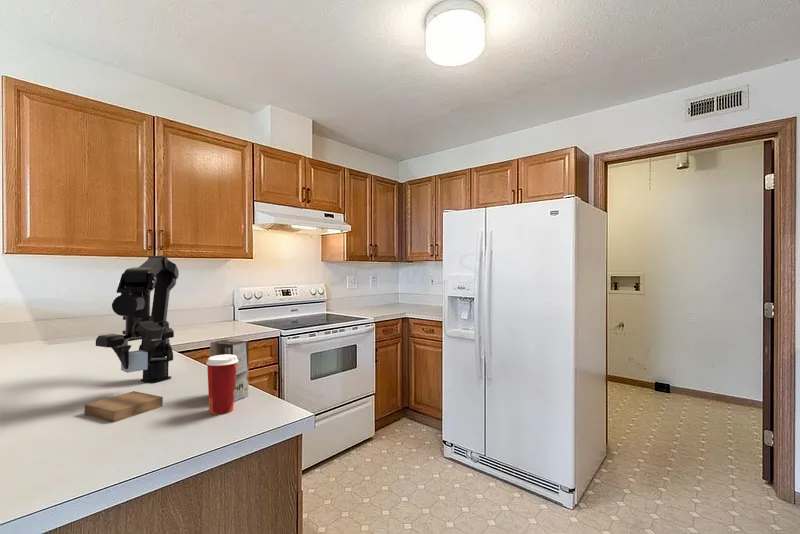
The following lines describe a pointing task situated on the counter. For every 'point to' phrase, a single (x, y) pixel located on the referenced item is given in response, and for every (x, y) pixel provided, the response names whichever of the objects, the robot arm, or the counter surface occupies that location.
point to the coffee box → (242, 365)
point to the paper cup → (221, 383)
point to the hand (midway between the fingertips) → (136, 366)
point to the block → (136, 361)
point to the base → (123, 406)
